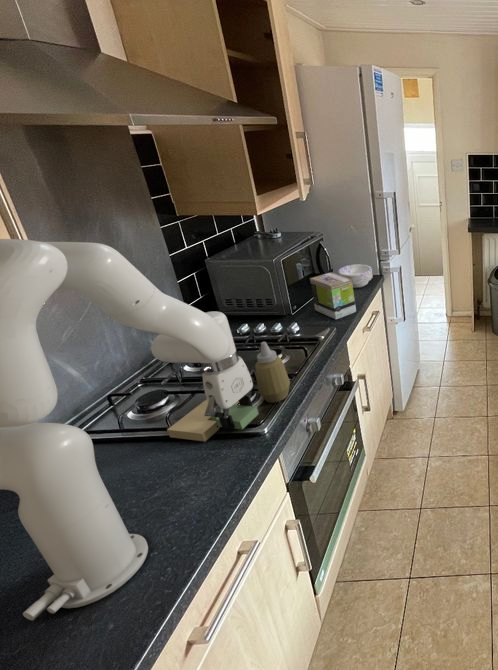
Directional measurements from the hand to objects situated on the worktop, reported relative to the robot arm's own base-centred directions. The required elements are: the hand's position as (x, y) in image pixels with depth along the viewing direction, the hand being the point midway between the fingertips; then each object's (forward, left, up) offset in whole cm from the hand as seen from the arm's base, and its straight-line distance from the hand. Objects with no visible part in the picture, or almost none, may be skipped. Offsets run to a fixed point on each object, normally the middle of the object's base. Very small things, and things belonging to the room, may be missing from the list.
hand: (238, 418), depth 109 cm
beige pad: (0, +9, -2) cm, 9 cm away
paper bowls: (+97, +17, -2) cm, 98 cm away
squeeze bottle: (+12, -2, -2) cm, 12 cm away
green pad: (0, +1, -1) cm, 1 cm away
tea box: (+67, +11, -2) cm, 68 cm away
